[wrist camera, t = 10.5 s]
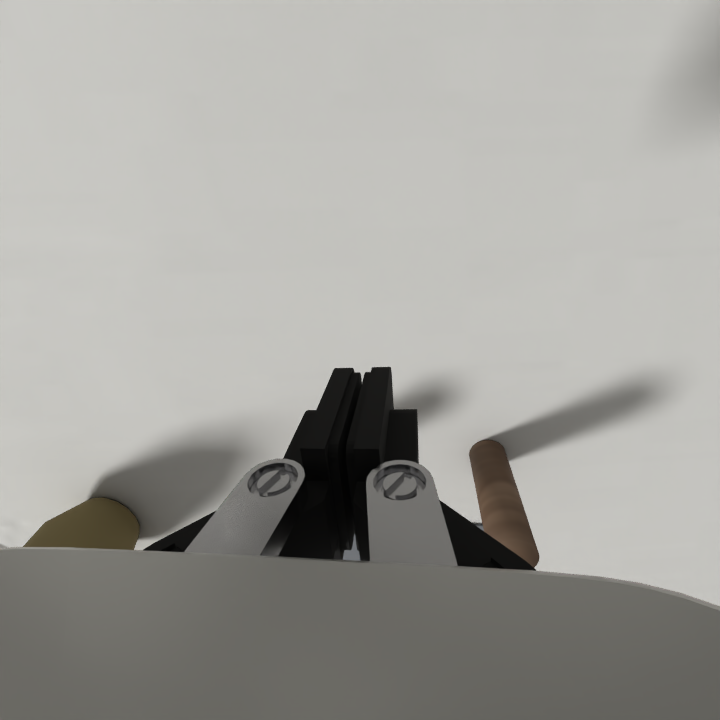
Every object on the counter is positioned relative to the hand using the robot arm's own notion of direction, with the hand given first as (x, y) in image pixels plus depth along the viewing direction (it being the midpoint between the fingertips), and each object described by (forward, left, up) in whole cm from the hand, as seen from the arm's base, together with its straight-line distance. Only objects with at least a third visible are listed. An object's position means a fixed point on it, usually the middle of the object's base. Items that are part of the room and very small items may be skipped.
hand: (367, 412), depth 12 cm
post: (+13, +6, -15) cm, 21 cm away
